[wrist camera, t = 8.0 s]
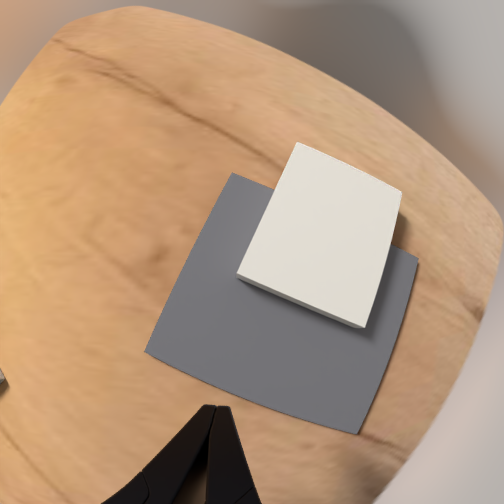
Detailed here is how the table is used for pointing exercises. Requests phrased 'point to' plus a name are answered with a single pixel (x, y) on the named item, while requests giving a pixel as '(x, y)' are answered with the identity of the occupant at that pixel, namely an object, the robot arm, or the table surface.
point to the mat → (274, 325)
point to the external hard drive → (1, 377)
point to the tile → (324, 237)
